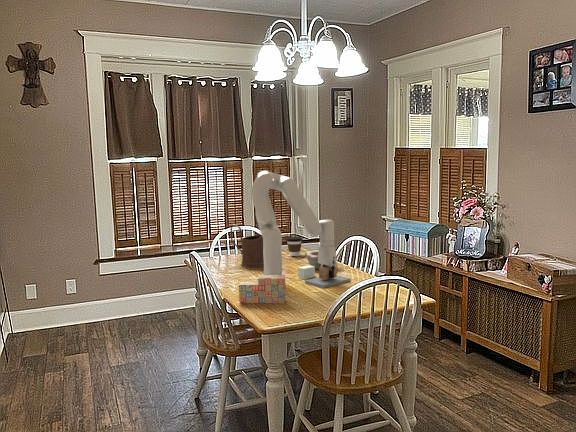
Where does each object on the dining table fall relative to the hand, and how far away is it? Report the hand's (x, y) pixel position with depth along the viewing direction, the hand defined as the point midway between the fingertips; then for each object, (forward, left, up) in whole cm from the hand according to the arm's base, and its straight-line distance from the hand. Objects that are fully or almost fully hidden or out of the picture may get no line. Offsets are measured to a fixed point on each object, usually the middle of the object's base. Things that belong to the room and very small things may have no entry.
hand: (327, 276), depth 278 cm
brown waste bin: (-5, +64, -4) cm, 64 cm away
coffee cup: (+32, +66, -3) cm, 73 cm away
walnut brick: (0, 0, -1) cm, 1 cm away
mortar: (+20, +27, -3) cm, 34 cm away
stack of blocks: (-47, -5, -4) cm, 47 cm away
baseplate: (0, 0, -3) cm, 3 cm away
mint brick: (-1, +16, -3) cm, 16 cm away
